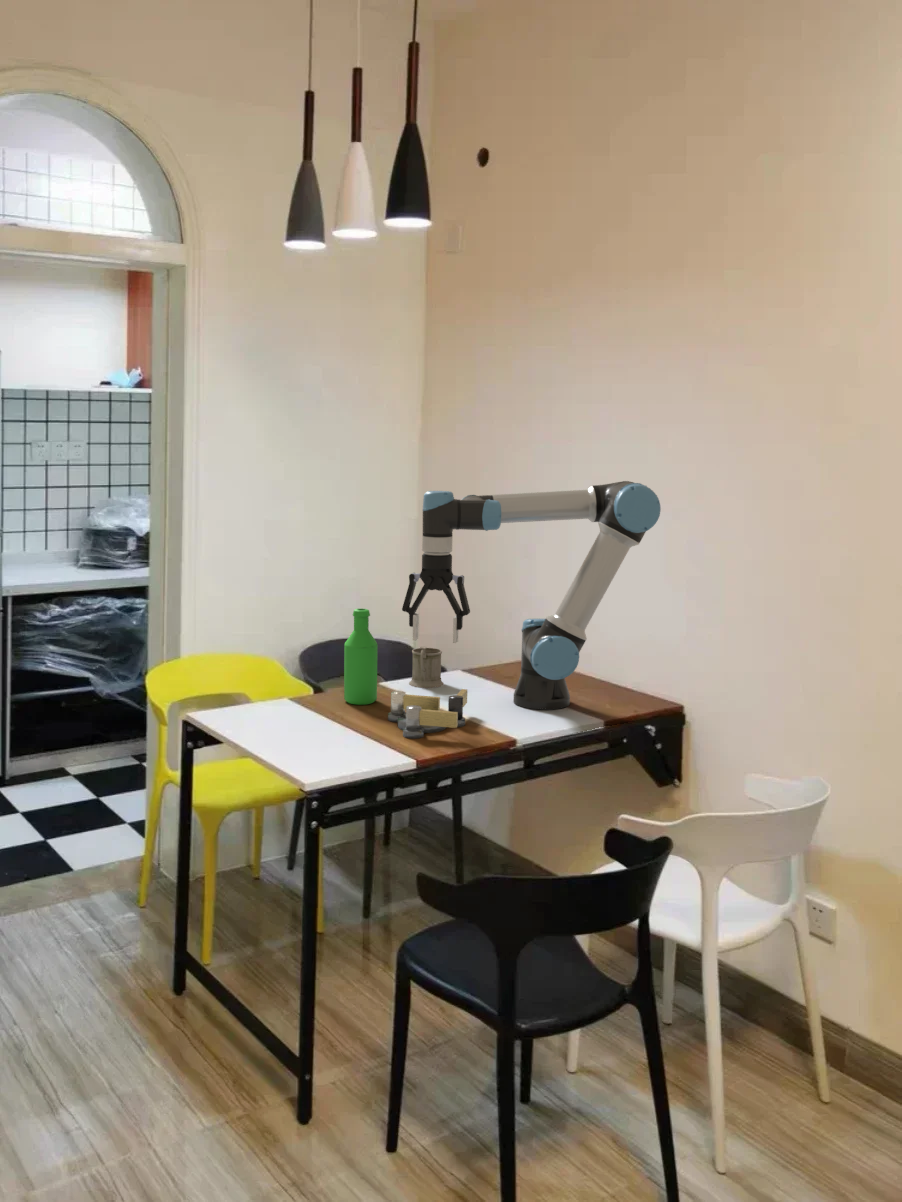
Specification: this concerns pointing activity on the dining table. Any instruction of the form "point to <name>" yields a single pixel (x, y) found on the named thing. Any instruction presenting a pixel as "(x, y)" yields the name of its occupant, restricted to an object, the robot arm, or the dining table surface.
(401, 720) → the tribrach plate
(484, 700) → the dining table surface
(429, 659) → the mug
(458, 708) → the black and tan lever
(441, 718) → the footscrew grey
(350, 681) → the bottle
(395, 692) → the lever
